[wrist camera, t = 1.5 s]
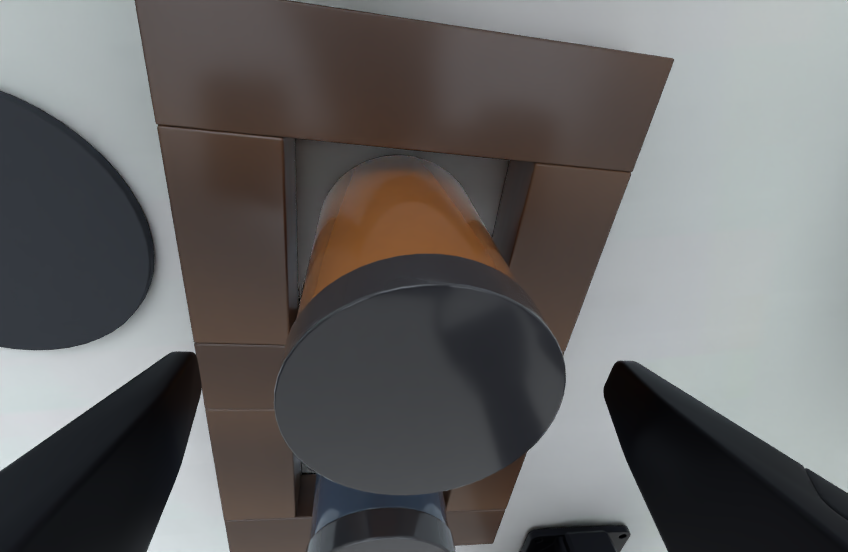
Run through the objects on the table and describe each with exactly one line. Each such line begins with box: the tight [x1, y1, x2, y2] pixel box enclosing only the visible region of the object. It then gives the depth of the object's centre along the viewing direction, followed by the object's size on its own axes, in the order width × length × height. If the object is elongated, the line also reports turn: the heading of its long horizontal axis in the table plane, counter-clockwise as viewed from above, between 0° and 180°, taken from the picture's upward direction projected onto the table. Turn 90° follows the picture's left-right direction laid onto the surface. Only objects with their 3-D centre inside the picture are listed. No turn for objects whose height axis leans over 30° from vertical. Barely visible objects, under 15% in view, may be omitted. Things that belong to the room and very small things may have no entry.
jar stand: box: [135, 0, 674, 552], centre depth 17 cm, size 23×13×2 cm, turn 173°
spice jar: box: [305, 473, 456, 552], centre depth 17 cm, size 5×5×6 cm
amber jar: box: [274, 155, 566, 495], centre depth 12 cm, size 6×6×8 cm
